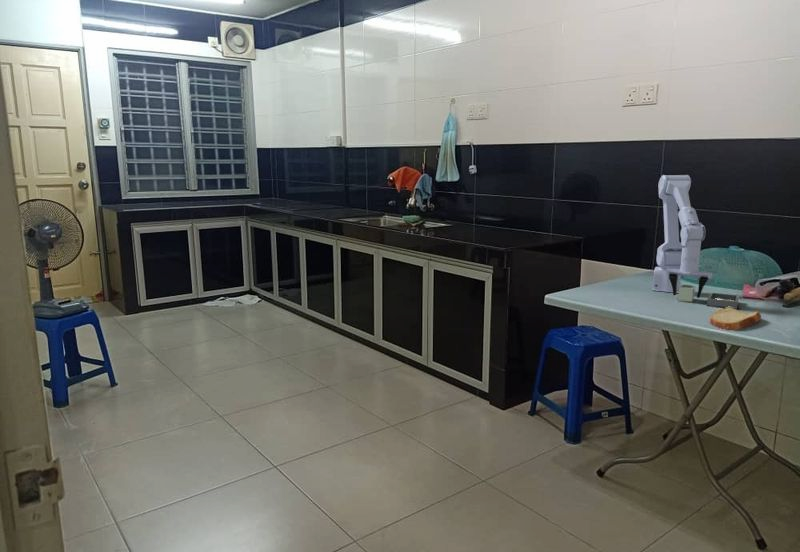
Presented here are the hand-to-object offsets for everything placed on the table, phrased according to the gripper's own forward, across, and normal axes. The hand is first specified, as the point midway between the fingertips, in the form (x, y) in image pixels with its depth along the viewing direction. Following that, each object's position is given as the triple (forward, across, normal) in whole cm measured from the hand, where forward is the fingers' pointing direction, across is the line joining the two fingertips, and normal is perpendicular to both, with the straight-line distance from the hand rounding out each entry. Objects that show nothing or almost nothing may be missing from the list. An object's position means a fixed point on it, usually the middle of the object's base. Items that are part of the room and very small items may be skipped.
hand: (686, 296), depth 200 cm
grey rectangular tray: (+1, +12, 0) cm, 12 cm away
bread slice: (+2, +17, -23) cm, 29 cm away
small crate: (+1, 0, 0) cm, 1 cm away
